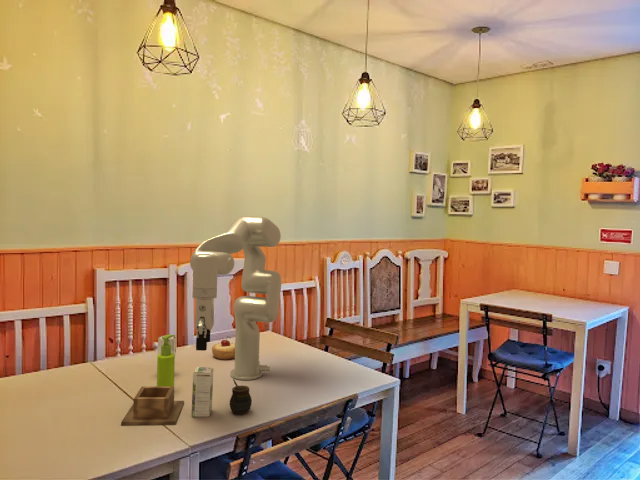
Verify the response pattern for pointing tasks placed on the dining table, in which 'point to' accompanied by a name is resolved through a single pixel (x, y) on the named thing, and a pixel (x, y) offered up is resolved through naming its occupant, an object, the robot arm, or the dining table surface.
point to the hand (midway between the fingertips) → (203, 345)
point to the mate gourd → (240, 399)
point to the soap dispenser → (165, 364)
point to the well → (154, 407)
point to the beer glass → (171, 341)
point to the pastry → (224, 350)
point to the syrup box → (202, 392)
